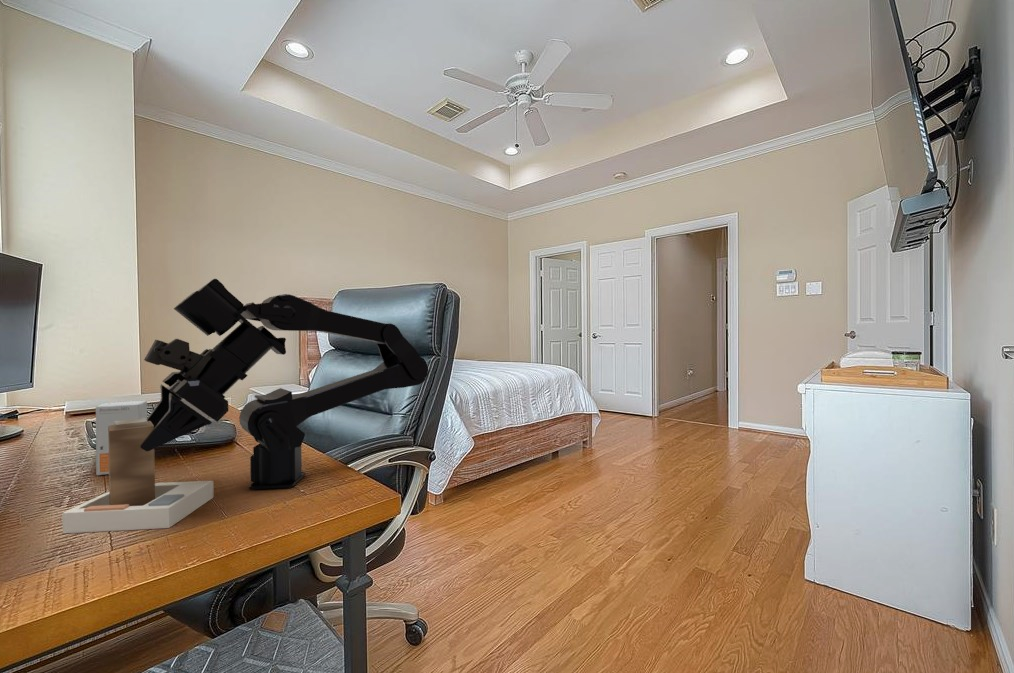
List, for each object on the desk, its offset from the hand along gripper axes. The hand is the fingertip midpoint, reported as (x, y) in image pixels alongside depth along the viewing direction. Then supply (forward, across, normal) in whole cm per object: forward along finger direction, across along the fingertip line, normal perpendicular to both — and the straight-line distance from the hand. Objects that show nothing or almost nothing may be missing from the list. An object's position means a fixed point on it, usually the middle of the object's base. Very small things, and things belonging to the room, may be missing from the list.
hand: (141, 442), depth 59 cm
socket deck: (+7, +1, +7) cm, 10 cm away
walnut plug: (+8, 0, +6) cm, 10 cm away
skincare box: (+8, -26, +6) cm, 28 cm away
